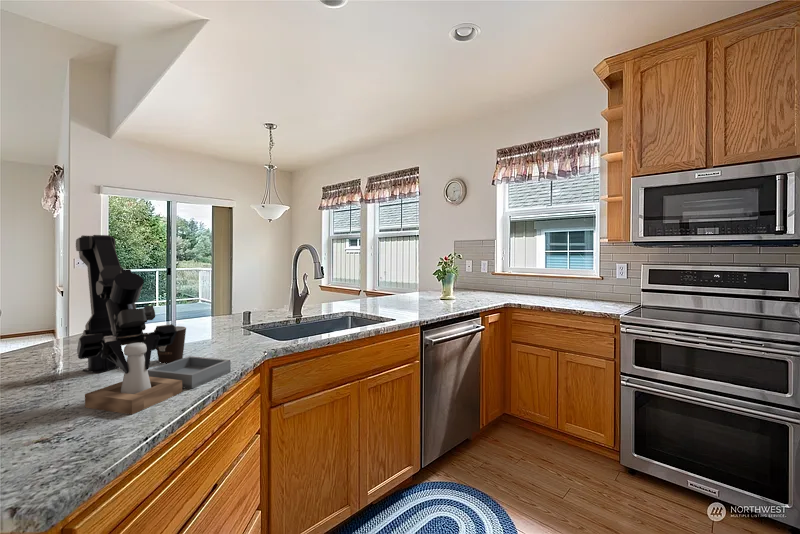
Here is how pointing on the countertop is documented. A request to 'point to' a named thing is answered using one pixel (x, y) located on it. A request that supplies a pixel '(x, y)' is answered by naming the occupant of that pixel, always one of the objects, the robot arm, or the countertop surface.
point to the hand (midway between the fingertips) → (137, 370)
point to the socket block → (132, 396)
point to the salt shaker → (135, 369)
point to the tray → (192, 370)
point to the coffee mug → (173, 347)
